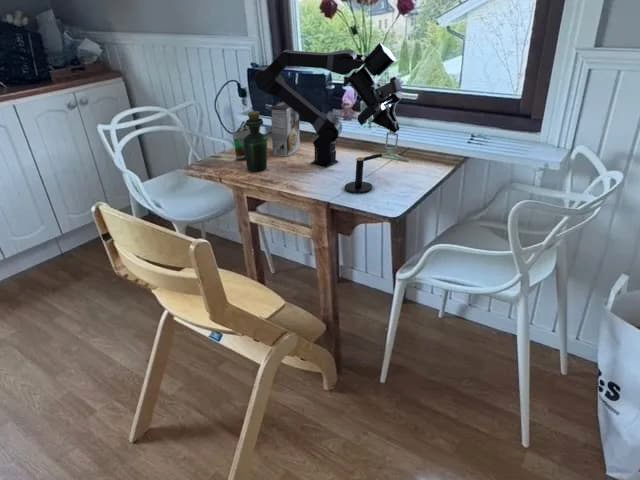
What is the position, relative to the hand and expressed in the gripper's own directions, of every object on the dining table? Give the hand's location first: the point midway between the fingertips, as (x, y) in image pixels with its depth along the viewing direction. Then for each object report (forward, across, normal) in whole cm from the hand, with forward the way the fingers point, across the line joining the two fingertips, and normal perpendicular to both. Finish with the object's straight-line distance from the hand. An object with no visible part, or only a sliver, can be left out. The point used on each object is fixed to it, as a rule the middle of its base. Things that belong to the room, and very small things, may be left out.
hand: (397, 130), depth 154 cm
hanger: (+5, 0, +7) cm, 9 cm away
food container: (-27, -9, +45) cm, 53 cm away
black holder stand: (+7, -16, +10) cm, 20 cm away
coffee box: (-20, +1, +38) cm, 43 cm away
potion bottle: (-20, -18, +37) cm, 46 cm away
